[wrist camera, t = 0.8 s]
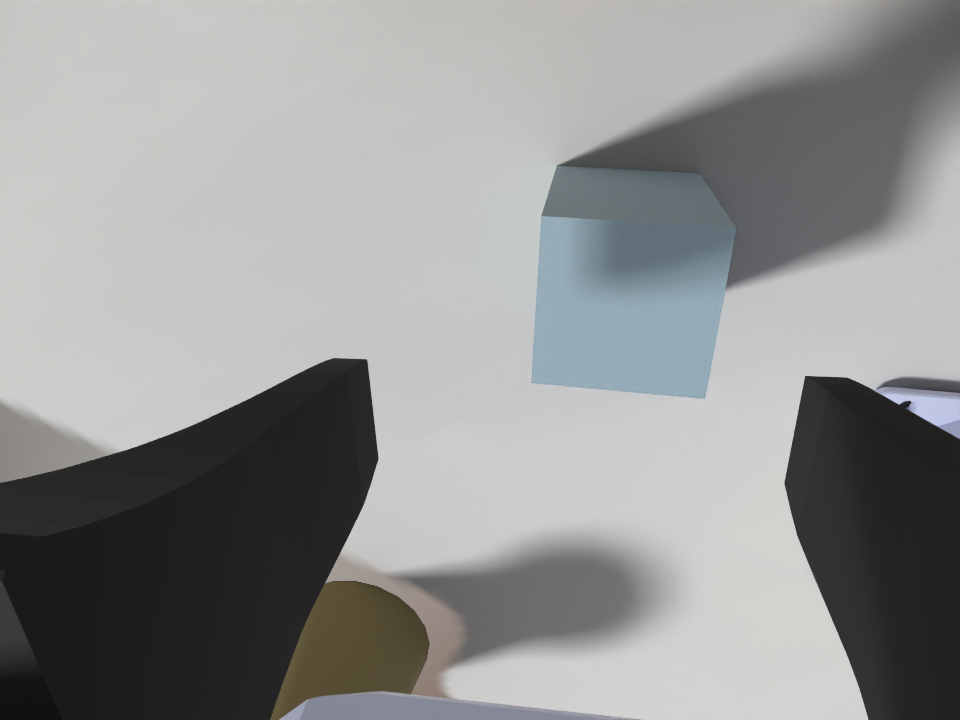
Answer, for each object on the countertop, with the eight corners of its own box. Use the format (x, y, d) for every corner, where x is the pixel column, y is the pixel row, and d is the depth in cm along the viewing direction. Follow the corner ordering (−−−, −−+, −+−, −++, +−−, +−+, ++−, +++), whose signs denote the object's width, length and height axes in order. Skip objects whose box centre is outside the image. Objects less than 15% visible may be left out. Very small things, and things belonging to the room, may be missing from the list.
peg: (699, 172, 19) (737, 227, 14) (678, 305, 21) (704, 398, 16) (557, 165, 20) (541, 216, 15) (548, 295, 22) (531, 382, 16)
